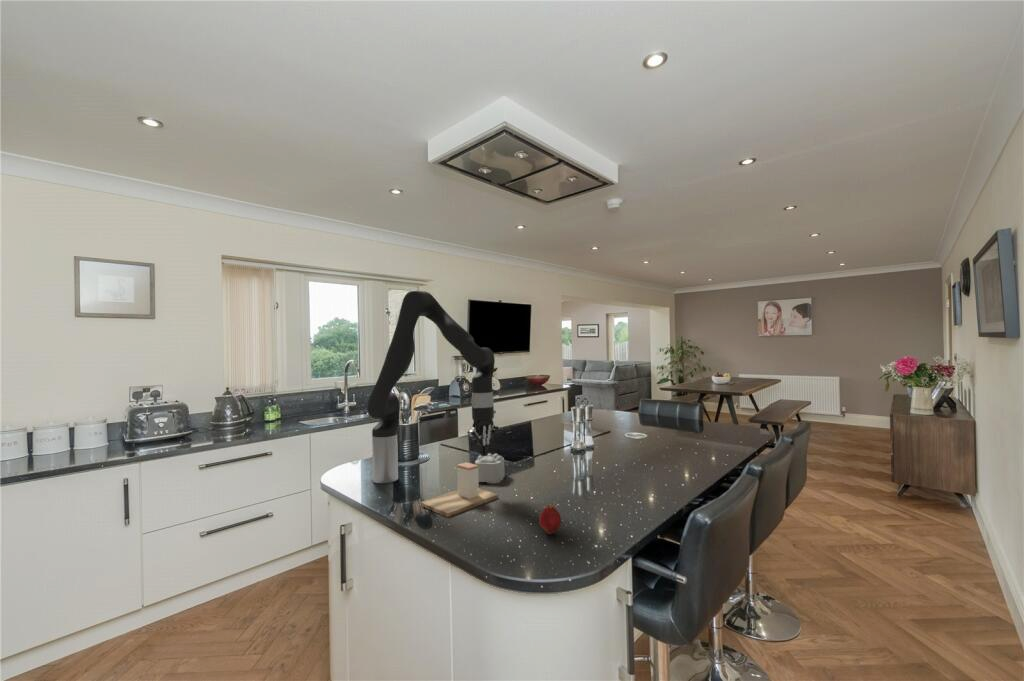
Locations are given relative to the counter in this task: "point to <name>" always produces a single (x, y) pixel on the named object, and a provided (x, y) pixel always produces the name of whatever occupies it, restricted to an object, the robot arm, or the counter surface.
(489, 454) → the paw stamp
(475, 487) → the block
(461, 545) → the counter surface
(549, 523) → the red strawberry
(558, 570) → the counter surface
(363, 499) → the counter surface
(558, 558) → the counter surface
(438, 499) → the board
